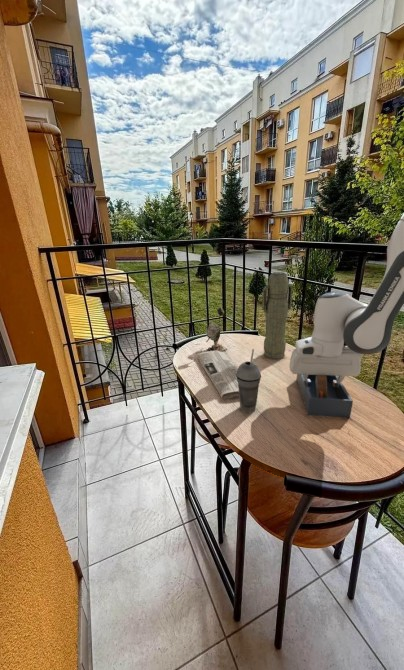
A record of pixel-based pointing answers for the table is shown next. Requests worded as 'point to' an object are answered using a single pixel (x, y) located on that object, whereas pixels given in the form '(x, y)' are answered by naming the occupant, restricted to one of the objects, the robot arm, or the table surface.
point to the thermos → (276, 314)
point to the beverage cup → (248, 385)
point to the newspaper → (220, 372)
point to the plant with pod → (215, 333)
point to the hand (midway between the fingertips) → (321, 385)
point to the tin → (321, 386)
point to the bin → (333, 405)
